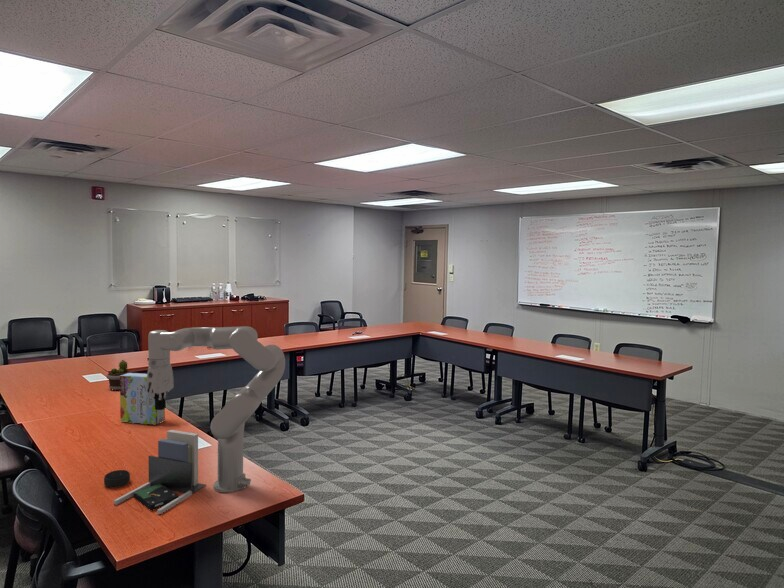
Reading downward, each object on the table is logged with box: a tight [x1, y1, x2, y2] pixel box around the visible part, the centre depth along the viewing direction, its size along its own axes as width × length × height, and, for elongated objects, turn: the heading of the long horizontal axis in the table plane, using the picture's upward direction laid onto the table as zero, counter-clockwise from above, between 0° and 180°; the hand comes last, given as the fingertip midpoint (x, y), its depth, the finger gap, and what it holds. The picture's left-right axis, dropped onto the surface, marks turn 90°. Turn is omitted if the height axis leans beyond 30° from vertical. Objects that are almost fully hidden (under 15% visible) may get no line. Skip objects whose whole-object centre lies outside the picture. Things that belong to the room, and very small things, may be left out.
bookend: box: [148, 455, 207, 495], centre depth 197 cm, size 20×8×12 cm, turn 72°
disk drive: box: [133, 483, 179, 511], centre depth 186 cm, size 10×3×15 cm
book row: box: [157, 429, 199, 486], centre depth 197 cm, size 13×7×20 cm, turn 72°
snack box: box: [119, 372, 166, 426], centre depth 271 cm, size 22×9×26 cm, turn 80°
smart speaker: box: [103, 469, 131, 489], centre depth 198 cm, size 9×9×4 cm
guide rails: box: [113, 481, 193, 515], centre depth 186 cm, size 21×16×2 cm
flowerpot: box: [106, 358, 132, 391], centre depth 335 cm, size 14×15×20 cm
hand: (159, 409), depth 196 cm, fingers closed
